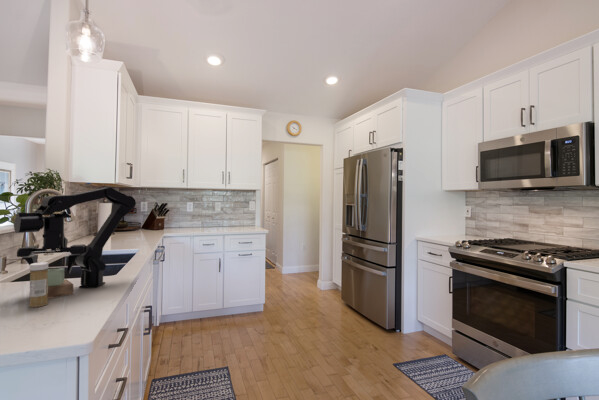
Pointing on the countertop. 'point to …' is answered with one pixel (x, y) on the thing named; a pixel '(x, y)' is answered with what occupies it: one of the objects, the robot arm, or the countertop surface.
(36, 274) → the sprinkles bottle
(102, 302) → the countertop surface
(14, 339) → the countertop surface
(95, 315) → the countertop surface
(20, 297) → the countertop surface
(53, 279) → the sage green cube
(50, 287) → the walnut block
